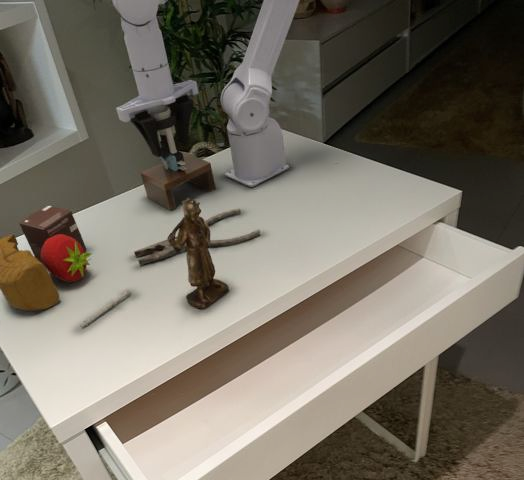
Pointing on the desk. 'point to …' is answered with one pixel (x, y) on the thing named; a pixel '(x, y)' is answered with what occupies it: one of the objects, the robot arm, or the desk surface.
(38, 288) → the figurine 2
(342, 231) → the desk surface
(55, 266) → the strawberry
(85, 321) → the wall anchor
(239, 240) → the pliers
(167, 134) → the push button
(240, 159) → the robot arm
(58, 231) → the box
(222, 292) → the figurine
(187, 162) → the brown wooden bridge block
